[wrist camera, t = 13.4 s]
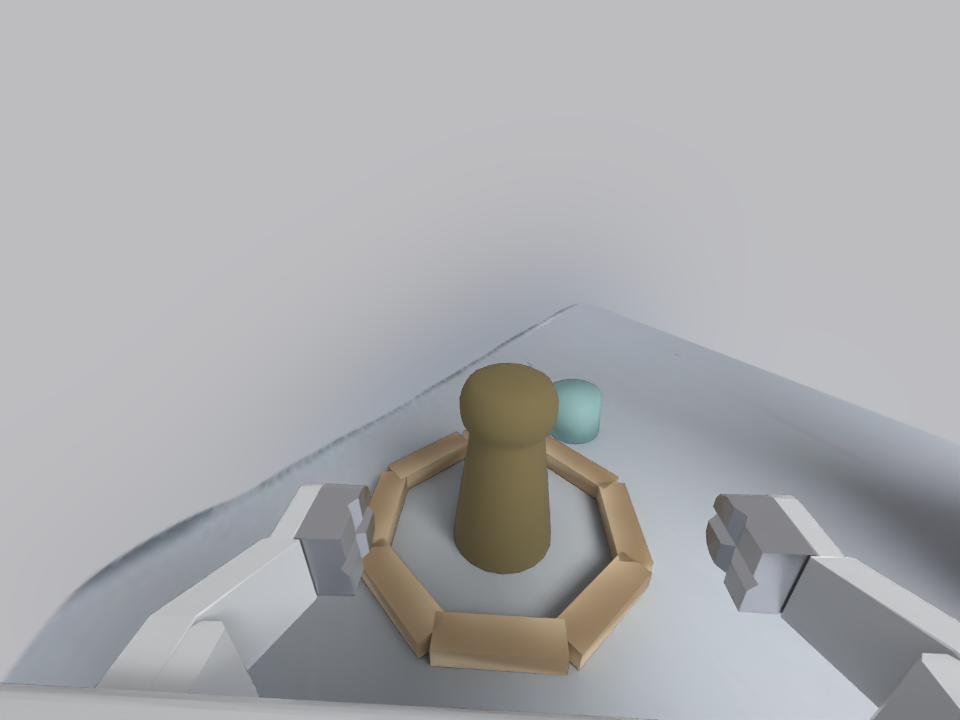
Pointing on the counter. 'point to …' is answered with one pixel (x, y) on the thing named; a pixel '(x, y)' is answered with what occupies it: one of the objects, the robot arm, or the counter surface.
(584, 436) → the loose bead
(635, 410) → the counter surface
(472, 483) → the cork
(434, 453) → the wooden segmented ring
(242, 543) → the counter surface
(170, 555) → the counter surface
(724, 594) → the counter surface
